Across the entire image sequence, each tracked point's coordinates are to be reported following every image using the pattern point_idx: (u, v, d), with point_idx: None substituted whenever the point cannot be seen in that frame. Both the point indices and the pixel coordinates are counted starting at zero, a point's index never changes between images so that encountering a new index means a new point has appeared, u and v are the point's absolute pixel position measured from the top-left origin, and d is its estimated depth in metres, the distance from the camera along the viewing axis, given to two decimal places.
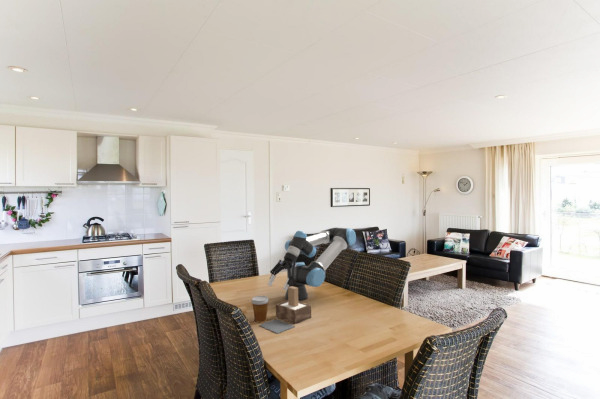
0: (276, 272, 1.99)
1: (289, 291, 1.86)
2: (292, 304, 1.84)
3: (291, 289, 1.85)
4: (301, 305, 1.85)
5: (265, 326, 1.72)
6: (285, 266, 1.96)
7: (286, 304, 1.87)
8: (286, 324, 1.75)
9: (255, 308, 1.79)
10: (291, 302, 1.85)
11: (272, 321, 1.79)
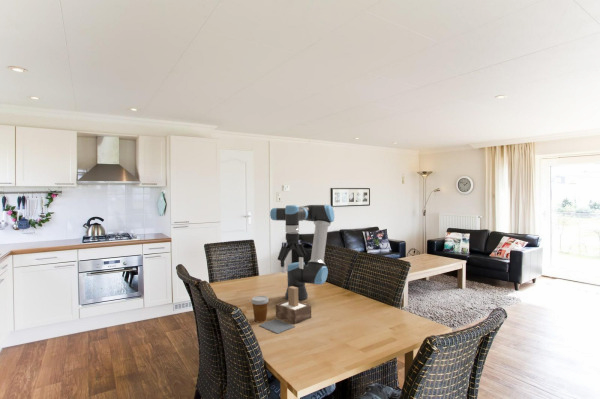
0: None
1: (289, 291, 1.86)
2: (292, 304, 1.85)
3: (291, 289, 1.85)
4: (301, 305, 1.85)
5: (265, 326, 1.72)
6: (294, 247, 1.85)
7: (286, 304, 1.88)
8: (286, 324, 1.75)
9: (255, 308, 1.79)
10: (291, 302, 1.85)
11: (272, 321, 1.79)
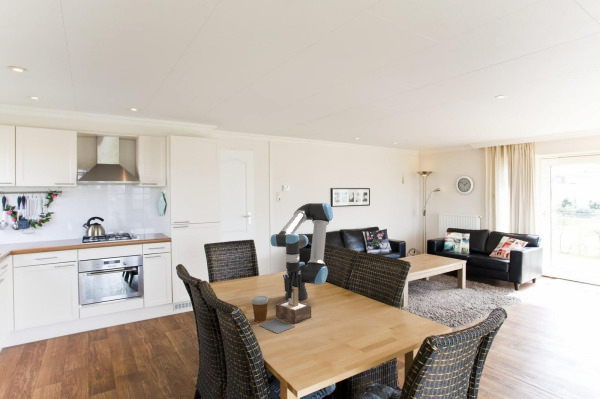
0: None
1: None
2: (292, 304, 1.84)
3: None
4: (301, 305, 1.85)
5: (265, 326, 1.72)
6: (294, 276, 1.85)
7: (286, 304, 1.88)
8: (286, 324, 1.75)
9: (255, 308, 1.79)
10: None
11: (272, 321, 1.79)
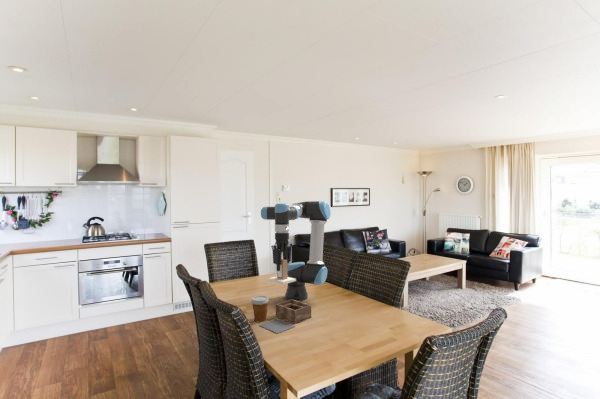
0: None
1: None
2: (281, 277, 1.76)
3: None
4: (290, 278, 1.77)
5: (265, 326, 1.72)
6: (283, 247, 1.77)
7: (275, 277, 1.79)
8: (286, 324, 1.75)
9: (255, 308, 1.79)
10: None
11: (272, 321, 1.79)
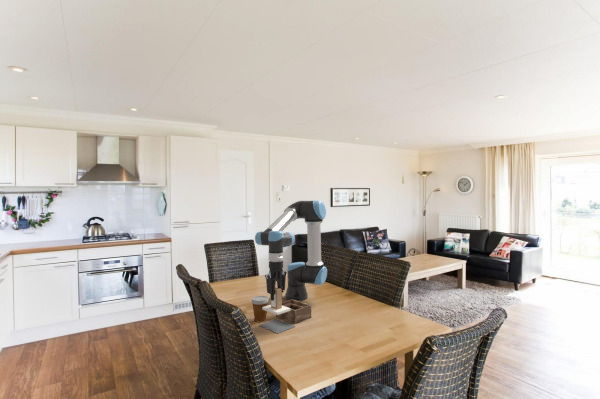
0: None
1: None
2: None
3: None
4: (285, 308, 1.72)
5: (265, 326, 1.72)
6: (277, 276, 1.72)
7: (269, 306, 1.75)
8: (286, 324, 1.75)
9: (255, 308, 1.79)
10: None
11: (272, 321, 1.79)
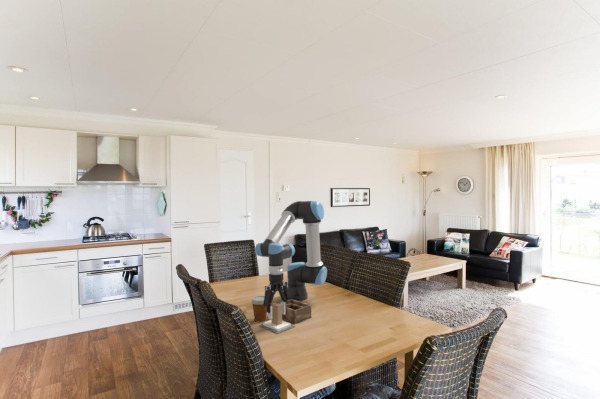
0: None
1: (272, 308, 1.73)
2: (275, 322, 1.72)
3: (274, 306, 1.72)
4: (285, 323, 1.73)
5: (265, 326, 1.72)
6: (278, 289, 1.73)
7: (269, 322, 1.75)
8: None
9: (255, 308, 1.79)
10: (275, 320, 1.72)
11: None
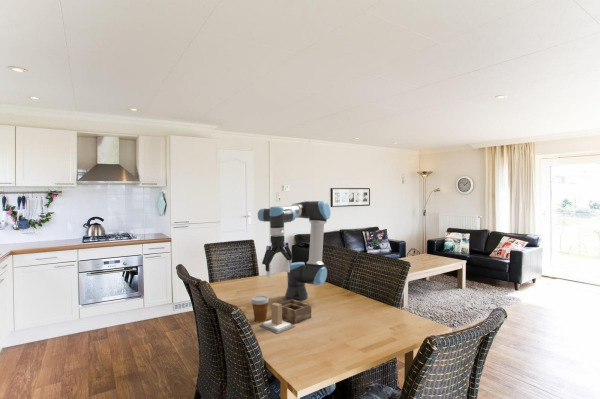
0: None
1: (272, 308, 1.73)
2: (275, 322, 1.72)
3: (274, 306, 1.72)
4: (285, 323, 1.73)
5: (265, 326, 1.72)
6: (279, 250, 1.77)
7: (269, 322, 1.75)
8: None
9: (255, 308, 1.79)
10: (275, 320, 1.72)
11: None
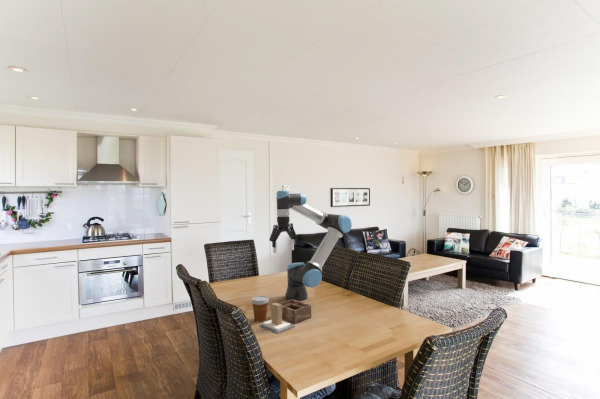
0: None
1: (272, 308, 1.73)
2: (275, 322, 1.72)
3: (274, 306, 1.72)
4: (285, 323, 1.73)
5: (265, 326, 1.72)
6: (285, 229, 1.99)
7: (269, 322, 1.75)
8: None
9: (255, 308, 1.79)
10: (275, 320, 1.72)
11: None
